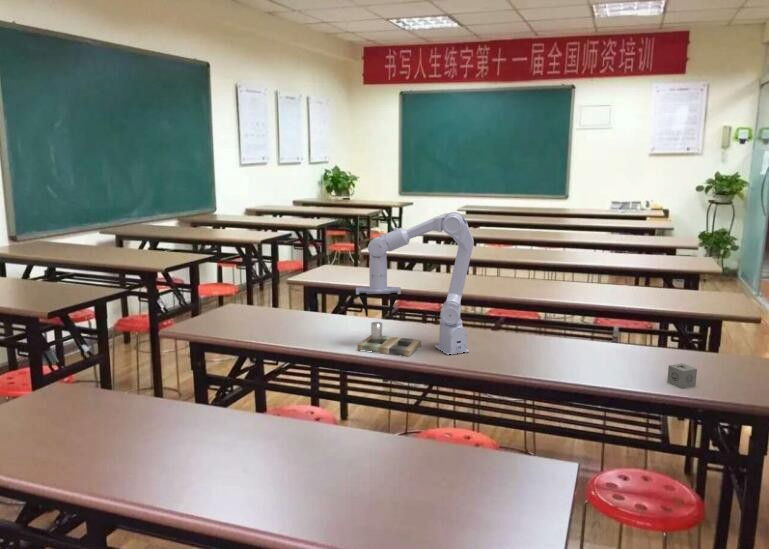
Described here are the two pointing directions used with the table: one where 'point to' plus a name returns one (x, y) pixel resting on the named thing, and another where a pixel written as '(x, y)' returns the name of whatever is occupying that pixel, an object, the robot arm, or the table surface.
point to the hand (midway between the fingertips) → (378, 315)
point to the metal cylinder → (376, 332)
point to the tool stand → (391, 345)
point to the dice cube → (682, 375)
